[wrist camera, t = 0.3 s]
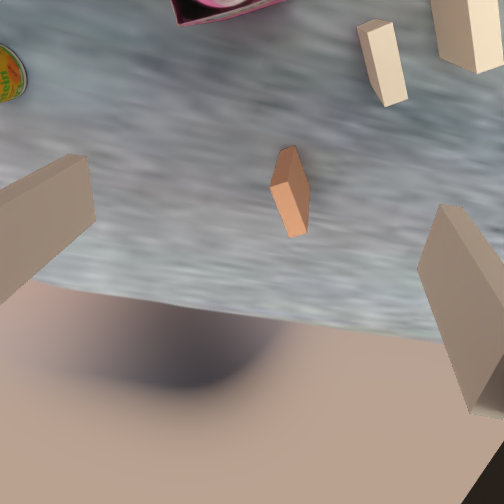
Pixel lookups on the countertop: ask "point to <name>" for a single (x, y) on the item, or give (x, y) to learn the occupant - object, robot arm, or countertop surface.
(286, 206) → the tile
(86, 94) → the countertop surface
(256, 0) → the gum box
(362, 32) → the tile
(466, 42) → the tile
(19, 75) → the supplement bottle
